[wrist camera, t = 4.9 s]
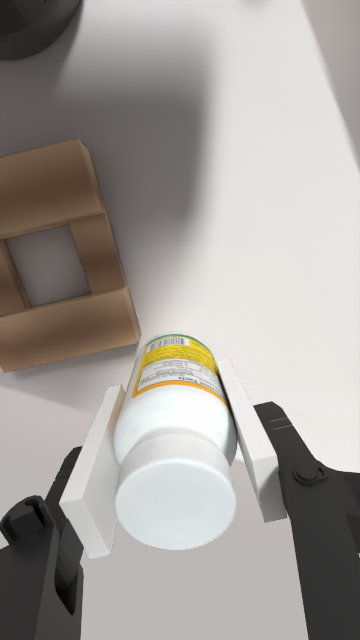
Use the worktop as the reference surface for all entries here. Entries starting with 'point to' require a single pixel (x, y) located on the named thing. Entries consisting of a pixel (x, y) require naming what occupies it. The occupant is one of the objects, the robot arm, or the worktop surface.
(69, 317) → the frame
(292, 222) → the worktop surface
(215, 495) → the supplement bottle
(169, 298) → the worktop surface
